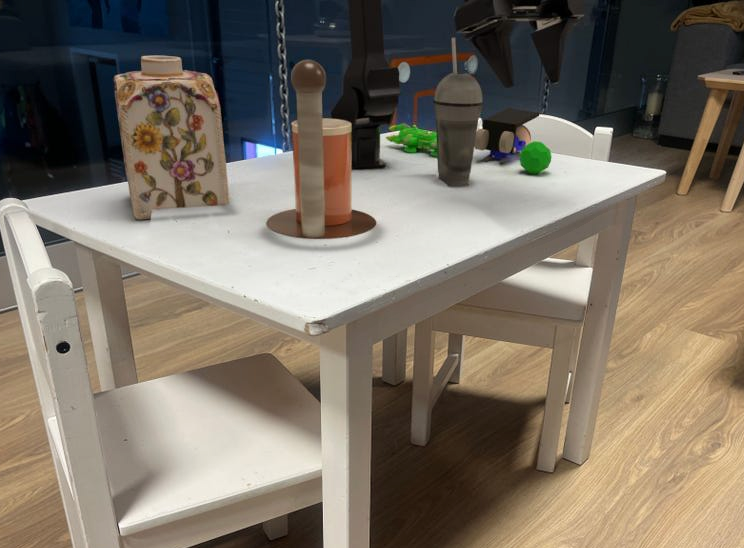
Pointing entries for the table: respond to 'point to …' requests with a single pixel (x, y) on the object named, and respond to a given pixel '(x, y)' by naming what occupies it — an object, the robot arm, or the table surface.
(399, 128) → the crocodile figurine
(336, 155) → the tumbler
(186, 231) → the table surface
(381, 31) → the robot arm
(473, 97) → the beverage cup
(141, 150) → the decorative jar
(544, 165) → the polyhedron
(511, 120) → the figurine character
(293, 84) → the towel holder
